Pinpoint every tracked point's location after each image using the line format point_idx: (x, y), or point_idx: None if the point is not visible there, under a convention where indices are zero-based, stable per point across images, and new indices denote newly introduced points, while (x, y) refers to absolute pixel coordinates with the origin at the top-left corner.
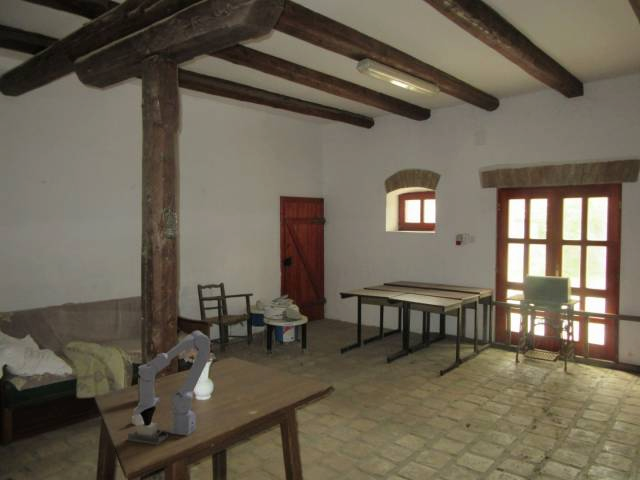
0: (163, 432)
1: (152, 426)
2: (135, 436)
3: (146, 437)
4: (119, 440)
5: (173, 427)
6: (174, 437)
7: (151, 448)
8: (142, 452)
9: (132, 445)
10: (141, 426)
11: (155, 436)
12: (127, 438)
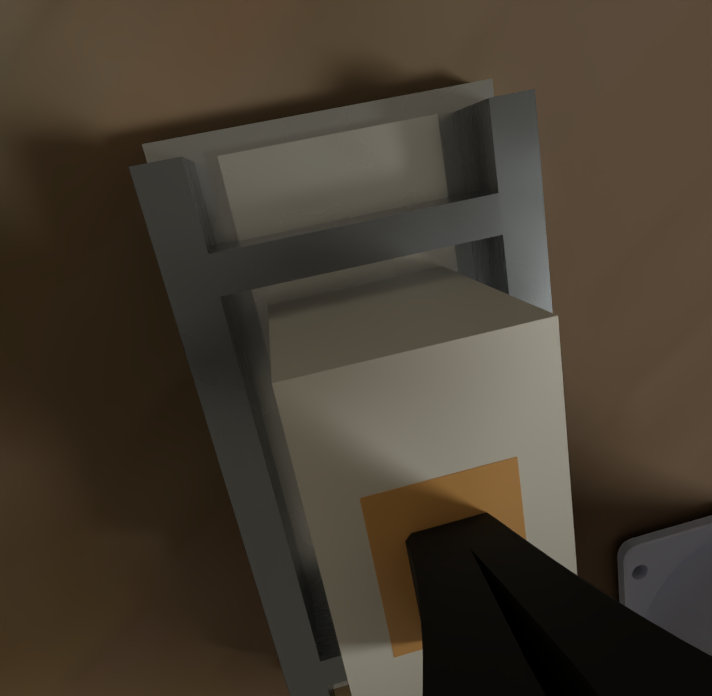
0: None
1: None
2: (191, 357)
3: (258, 579)
4: (42, 4)
5: (703, 635)
6: None
7: (183, 686)
8: (27, 686)
9: (73, 403)
10: (308, 521)
11: None
12: (146, 152)
